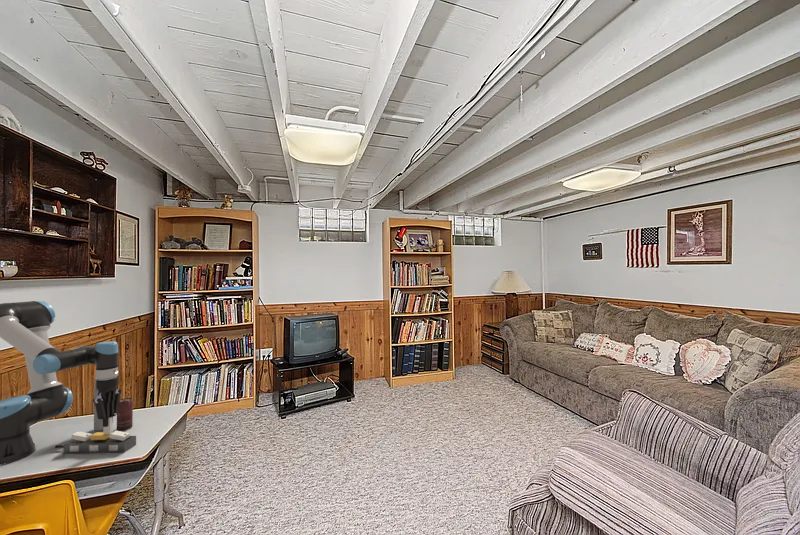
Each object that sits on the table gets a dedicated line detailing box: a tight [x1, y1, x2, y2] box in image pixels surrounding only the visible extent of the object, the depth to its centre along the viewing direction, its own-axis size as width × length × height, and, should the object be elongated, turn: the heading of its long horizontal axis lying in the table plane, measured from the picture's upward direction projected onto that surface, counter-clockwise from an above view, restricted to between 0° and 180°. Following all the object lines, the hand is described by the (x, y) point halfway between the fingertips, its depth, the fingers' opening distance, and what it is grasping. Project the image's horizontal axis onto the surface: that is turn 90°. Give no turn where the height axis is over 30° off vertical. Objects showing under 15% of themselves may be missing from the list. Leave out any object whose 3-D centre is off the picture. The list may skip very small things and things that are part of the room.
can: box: [116, 397, 134, 432], centre depth 174 cm, size 6×6×14 cm
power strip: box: [54, 435, 137, 455], centre depth 153 cm, size 31×7×4 cm, turn 92°
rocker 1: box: [70, 431, 93, 441], centre depth 153 cm, size 6×3×2 cm, turn 92°
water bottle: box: [93, 378, 117, 432], centre depth 175 cm, size 9×8×25 cm
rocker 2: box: [110, 430, 131, 441], centre depth 154 cm, size 6×3×2 cm, turn 92°
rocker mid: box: [90, 431, 111, 440], centre depth 153 cm, size 6×3×2 cm, turn 92°
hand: (108, 432), depth 153 cm, fingers closed
